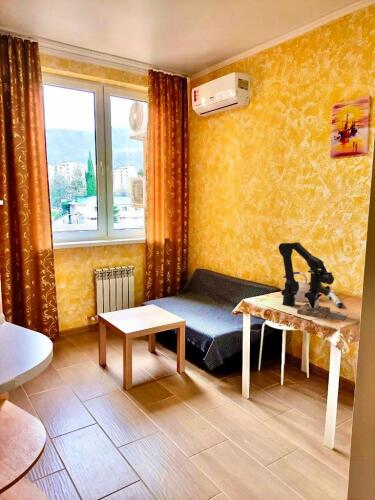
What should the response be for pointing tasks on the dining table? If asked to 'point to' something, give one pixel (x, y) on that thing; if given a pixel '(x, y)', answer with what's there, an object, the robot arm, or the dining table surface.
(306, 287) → the kettle
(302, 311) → the walnut rail plate
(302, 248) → the robot arm
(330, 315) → the charcoal mat
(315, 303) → the steel nut block
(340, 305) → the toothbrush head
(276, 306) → the dining table surface
